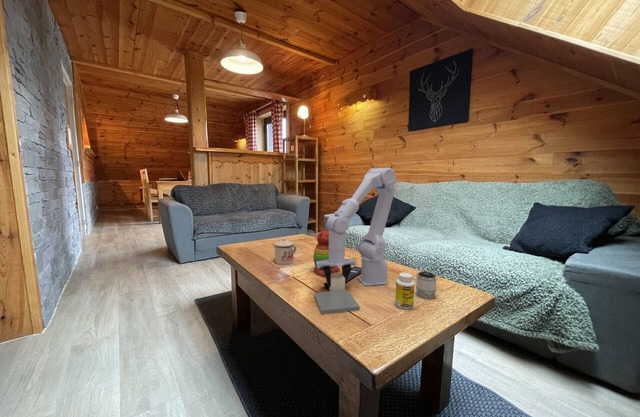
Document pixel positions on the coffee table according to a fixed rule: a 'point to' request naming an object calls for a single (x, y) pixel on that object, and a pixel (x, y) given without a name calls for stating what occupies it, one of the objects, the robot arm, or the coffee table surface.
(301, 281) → the coffee table surface
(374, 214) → the robot arm
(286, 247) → the teacup with lid
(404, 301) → the supplement bottle
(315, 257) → the stacking bear
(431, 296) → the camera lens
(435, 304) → the coffee table surface
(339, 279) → the block
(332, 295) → the plate
